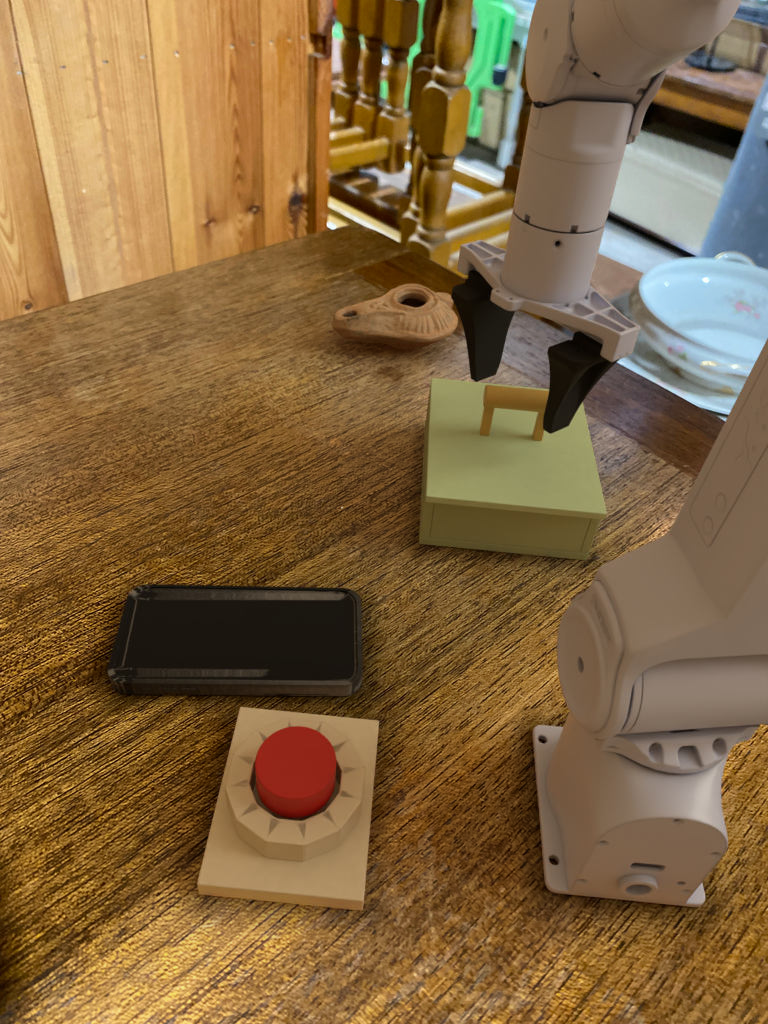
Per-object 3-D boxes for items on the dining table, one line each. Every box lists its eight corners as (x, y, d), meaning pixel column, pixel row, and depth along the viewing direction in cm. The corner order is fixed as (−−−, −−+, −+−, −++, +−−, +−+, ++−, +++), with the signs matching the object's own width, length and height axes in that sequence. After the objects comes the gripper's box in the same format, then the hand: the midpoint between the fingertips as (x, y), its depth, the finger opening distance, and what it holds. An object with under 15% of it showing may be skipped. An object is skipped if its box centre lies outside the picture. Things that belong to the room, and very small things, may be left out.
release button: (330, 822, 38) (331, 802, 37) (249, 814, 38) (247, 794, 37) (339, 750, 41) (340, 729, 40) (264, 742, 41) (263, 721, 40)
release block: (362, 911, 38) (365, 885, 36) (198, 894, 38) (192, 867, 36) (377, 731, 45) (381, 701, 43) (241, 717, 45) (238, 687, 43)
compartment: (587, 560, 57) (603, 513, 54) (418, 544, 57) (425, 495, 54) (566, 443, 68) (578, 398, 65) (424, 429, 68) (430, 384, 65)
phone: (130, 583, 51) (360, 587, 52) (133, 595, 51) (360, 599, 53) (102, 684, 45) (363, 686, 46) (106, 696, 46) (362, 698, 47)
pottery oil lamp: (317, 326, 79) (337, 256, 78) (422, 357, 84) (443, 293, 82) (339, 339, 72) (362, 262, 70) (452, 373, 76) (477, 302, 74)
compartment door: (605, 520, 53) (624, 466, 50) (425, 502, 53) (432, 447, 50) (579, 398, 65) (593, 347, 62) (430, 383, 65) (437, 332, 62)
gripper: (434, 186, 50) (413, 369, 59) (606, 275, 42) (551, 472, 51) (512, 170, 53) (482, 346, 62) (686, 249, 45) (622, 438, 54)
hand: (518, 401), depth 57 cm, fingers open, 7 cm apart
